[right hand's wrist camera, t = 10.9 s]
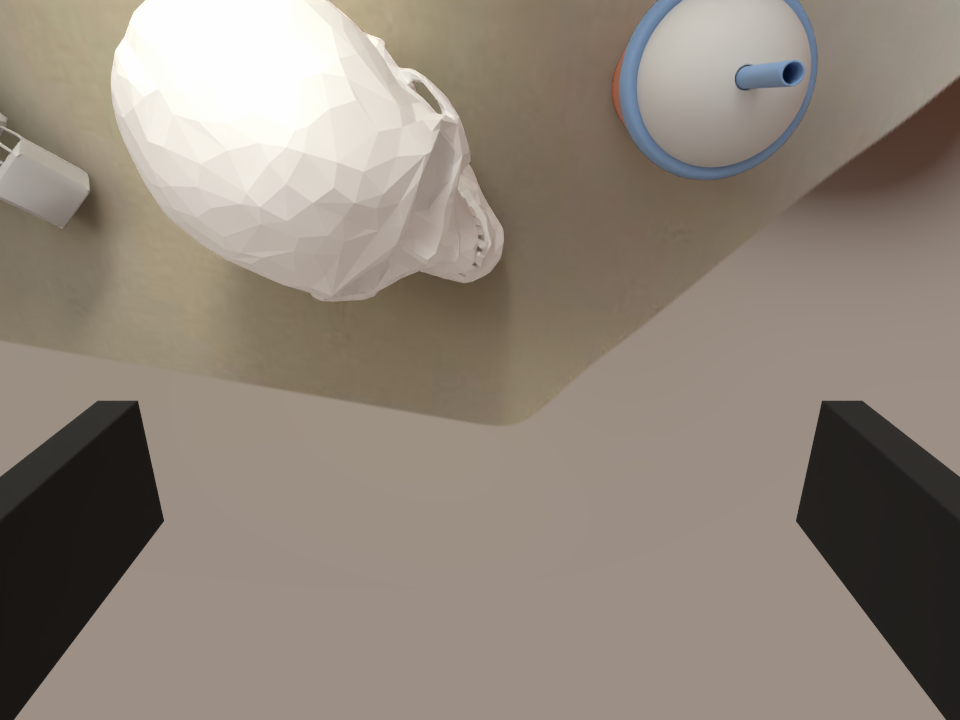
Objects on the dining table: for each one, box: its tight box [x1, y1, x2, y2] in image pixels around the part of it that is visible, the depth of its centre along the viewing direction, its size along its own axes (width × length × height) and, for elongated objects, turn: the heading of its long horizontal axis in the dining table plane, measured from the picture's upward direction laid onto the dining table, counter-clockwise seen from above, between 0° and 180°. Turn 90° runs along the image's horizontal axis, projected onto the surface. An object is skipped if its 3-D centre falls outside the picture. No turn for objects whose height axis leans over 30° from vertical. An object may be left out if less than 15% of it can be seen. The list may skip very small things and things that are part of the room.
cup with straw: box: [612, 0, 817, 180], centre depth 31 cm, size 9×9×18 cm
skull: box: [111, 0, 504, 302], centre depth 34 cm, size 13×22×16 cm, turn 58°
